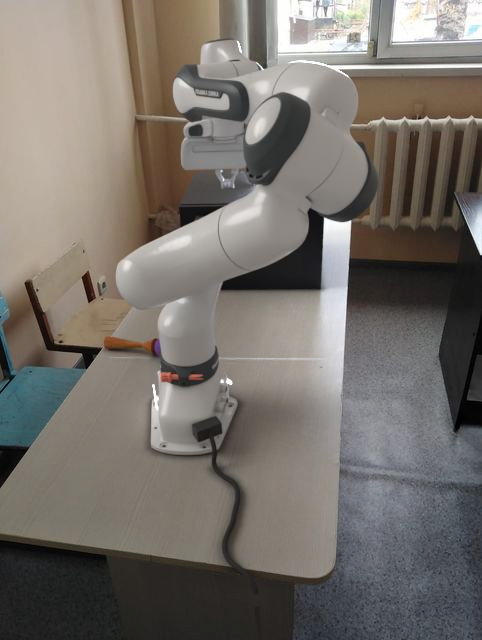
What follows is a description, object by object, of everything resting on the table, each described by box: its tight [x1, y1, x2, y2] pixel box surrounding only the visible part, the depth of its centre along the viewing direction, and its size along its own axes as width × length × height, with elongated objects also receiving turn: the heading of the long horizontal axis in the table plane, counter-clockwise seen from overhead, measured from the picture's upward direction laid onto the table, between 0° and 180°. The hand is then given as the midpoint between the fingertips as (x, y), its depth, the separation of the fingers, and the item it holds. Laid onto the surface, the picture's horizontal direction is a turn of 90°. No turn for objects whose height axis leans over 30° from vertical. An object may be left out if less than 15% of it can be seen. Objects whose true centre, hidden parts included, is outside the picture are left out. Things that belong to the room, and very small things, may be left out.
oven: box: [179, 170, 256, 206], centre depth 169 cm, size 32×40×26 cm
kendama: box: [103, 335, 161, 358], centre depth 135 cm, size 6×6×20 cm
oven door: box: [178, 204, 325, 291], centre depth 153 cm, size 7×40×26 cm, turn 85°
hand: (227, 187), depth 125 cm, fingers closed
